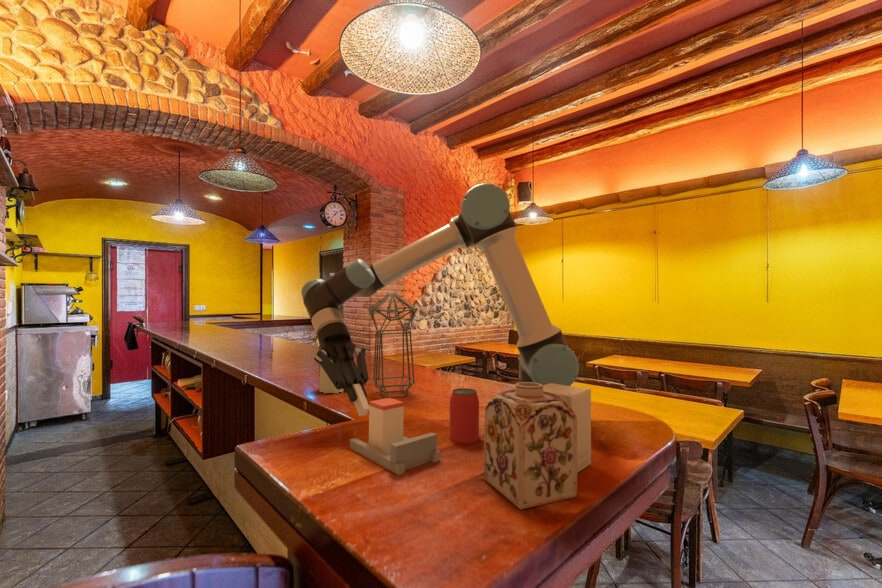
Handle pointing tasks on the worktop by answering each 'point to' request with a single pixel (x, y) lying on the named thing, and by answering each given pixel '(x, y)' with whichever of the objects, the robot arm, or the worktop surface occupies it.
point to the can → (327, 383)
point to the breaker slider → (385, 423)
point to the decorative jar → (530, 446)
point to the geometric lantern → (392, 333)
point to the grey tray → (401, 452)
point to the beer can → (464, 416)
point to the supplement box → (582, 408)
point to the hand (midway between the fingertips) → (364, 412)
